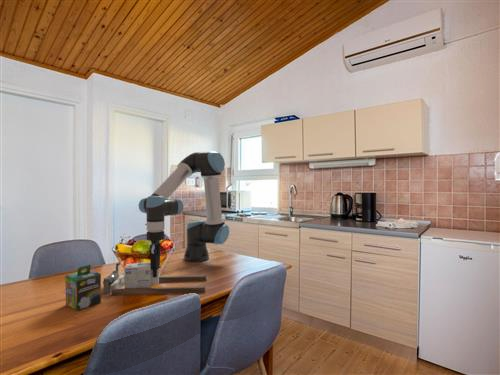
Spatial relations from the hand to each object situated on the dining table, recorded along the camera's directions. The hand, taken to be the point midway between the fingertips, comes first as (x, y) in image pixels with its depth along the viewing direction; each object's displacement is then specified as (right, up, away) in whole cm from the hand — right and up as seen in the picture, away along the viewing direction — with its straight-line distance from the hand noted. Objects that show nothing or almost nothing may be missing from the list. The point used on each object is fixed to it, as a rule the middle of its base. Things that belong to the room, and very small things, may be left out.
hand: (155, 283), depth 128 cm
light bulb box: (-6, -2, -3) cm, 7 cm away
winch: (-19, -1, 0) cm, 19 cm away
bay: (+3, -2, +1) cm, 3 cm away
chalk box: (-21, -2, -18) cm, 28 cm away
